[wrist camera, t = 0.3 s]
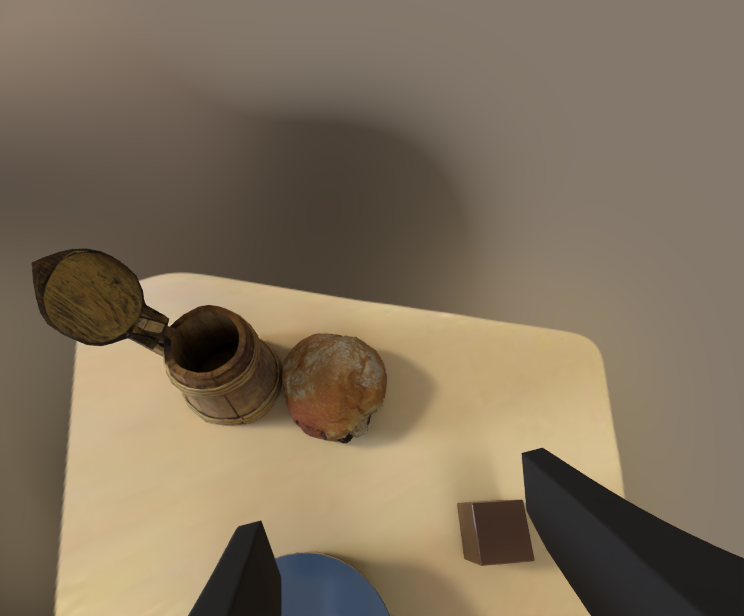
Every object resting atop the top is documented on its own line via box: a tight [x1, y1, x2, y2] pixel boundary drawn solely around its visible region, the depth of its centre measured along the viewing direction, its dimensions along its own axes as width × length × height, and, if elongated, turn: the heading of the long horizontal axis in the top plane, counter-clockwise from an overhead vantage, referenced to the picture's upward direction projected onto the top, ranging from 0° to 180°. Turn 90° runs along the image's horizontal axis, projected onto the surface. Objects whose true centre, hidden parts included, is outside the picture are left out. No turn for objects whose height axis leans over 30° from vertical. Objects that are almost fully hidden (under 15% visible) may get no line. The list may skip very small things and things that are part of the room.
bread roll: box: [282, 334, 387, 443], centre depth 39 cm, size 10×10×8 cm
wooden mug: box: [32, 249, 282, 425], centre depth 33 cm, size 9×14×18 cm, turn 77°
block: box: [457, 500, 534, 566], centre depth 35 cm, size 4×4×4 cm
